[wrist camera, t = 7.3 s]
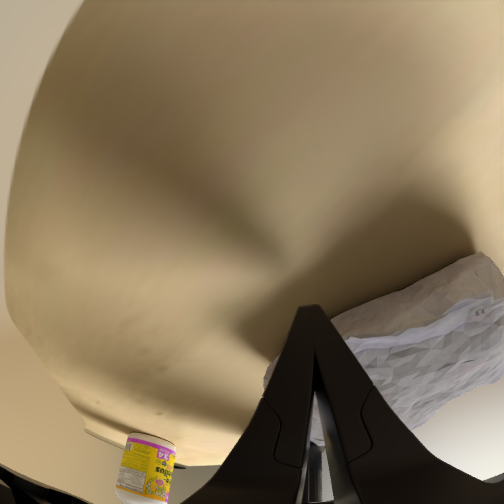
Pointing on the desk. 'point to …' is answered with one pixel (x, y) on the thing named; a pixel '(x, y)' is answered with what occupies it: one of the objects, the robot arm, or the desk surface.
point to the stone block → (428, 340)
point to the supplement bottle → (145, 470)
